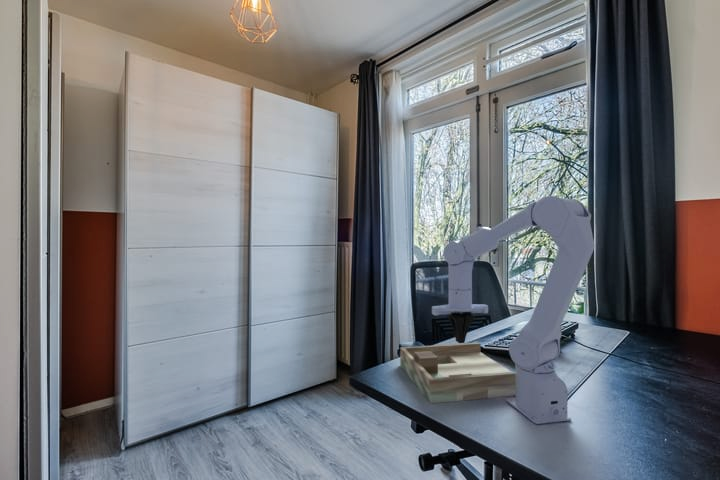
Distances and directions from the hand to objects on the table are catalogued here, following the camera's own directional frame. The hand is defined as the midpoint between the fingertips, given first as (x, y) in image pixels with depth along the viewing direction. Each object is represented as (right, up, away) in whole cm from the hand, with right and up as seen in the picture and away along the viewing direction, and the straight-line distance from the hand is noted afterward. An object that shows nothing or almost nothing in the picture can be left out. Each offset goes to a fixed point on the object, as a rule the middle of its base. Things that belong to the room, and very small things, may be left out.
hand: (460, 342), depth 84 cm
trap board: (0, -9, 0) cm, 9 cm away
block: (-9, -7, -1) cm, 11 cm away
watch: (+35, -9, +22) cm, 42 cm away
